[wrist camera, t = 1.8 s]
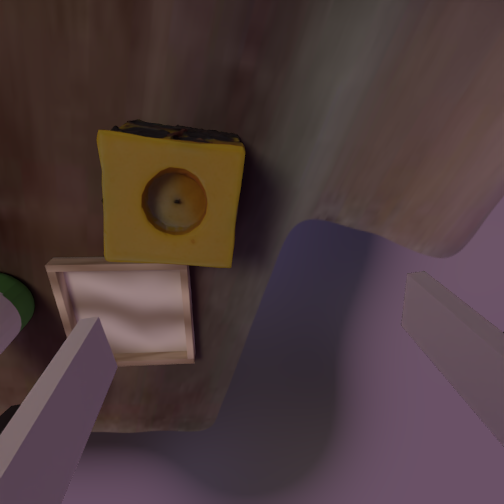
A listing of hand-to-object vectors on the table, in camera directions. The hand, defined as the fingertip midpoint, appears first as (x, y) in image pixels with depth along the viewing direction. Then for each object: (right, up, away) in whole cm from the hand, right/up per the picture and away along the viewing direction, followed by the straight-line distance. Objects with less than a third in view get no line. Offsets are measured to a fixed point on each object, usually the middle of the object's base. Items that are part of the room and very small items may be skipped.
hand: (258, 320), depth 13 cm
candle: (-7, +11, +18) cm, 22 cm away
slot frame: (-15, -4, +24) cm, 29 cm away
